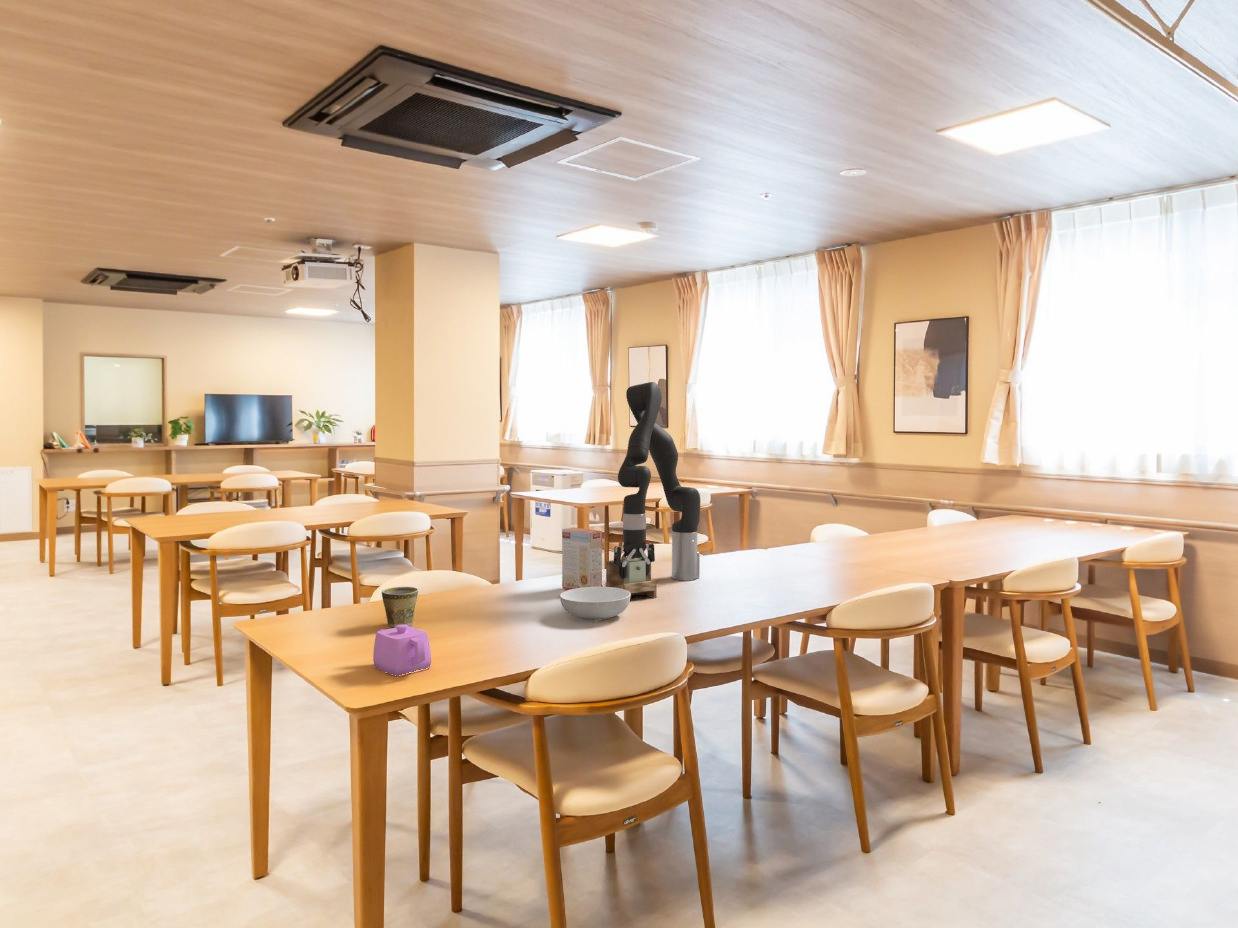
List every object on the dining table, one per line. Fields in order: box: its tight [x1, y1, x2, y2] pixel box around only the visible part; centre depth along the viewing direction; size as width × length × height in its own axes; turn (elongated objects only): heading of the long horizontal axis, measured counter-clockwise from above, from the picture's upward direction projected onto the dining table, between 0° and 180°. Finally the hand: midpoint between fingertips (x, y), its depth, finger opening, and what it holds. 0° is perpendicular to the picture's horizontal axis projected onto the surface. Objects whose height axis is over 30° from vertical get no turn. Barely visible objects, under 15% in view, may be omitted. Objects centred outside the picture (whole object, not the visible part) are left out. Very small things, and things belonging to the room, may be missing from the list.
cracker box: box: [561, 527, 603, 591], centre depth 278 cm, size 14×6×21 cm, turn 46°
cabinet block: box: [623, 559, 646, 584], centre depth 267 cm, size 6×5×8 cm
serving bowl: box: [559, 586, 632, 621], centre depth 243 cm, size 21×21×7 cm
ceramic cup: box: [381, 586, 419, 628], centre depth 234 cm, size 13×10×10 cm
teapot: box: [372, 625, 432, 677], centre depth 194 cm, size 18×10×10 cm, turn 45°
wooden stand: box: [605, 556, 658, 599], centre depth 268 cm, size 16×8×12 cm, turn 120°
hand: (634, 576), depth 268 cm, fingers open, 8 cm apart
